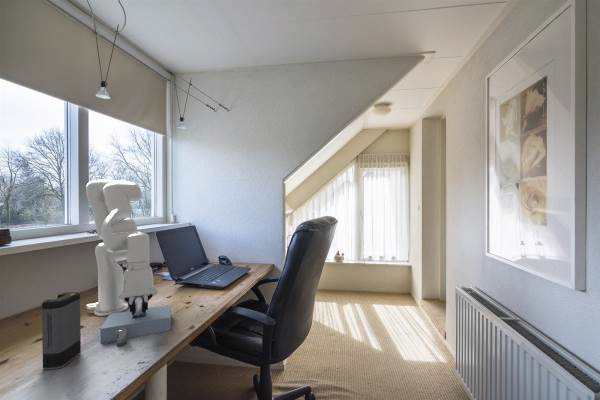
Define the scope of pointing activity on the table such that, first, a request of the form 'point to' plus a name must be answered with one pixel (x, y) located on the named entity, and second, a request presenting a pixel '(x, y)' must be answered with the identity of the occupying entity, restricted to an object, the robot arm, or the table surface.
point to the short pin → (121, 337)
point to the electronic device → (61, 330)
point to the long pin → (138, 306)
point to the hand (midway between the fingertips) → (139, 312)
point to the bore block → (136, 323)
